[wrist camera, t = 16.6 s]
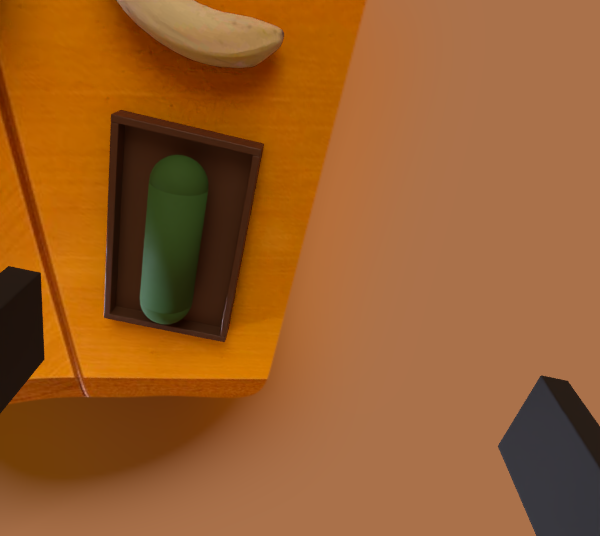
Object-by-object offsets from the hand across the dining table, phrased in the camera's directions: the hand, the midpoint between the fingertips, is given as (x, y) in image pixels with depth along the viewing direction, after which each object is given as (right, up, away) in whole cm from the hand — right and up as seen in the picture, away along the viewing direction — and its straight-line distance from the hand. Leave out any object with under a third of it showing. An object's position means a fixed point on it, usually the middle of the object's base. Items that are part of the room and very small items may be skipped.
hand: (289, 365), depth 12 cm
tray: (-11, +6, +30) cm, 32 cm away
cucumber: (-11, +6, +29) cm, 32 cm away
